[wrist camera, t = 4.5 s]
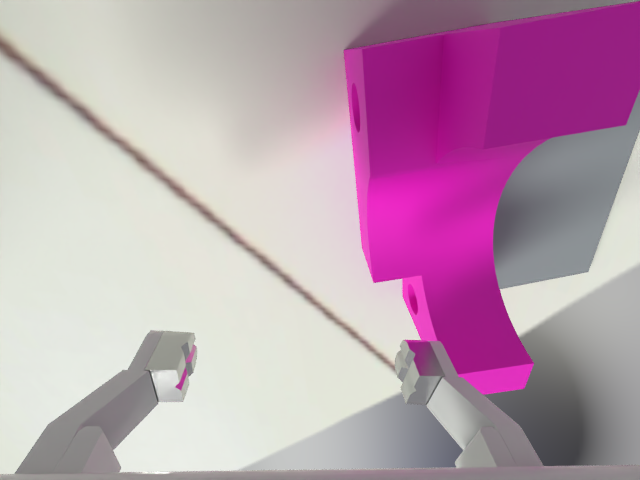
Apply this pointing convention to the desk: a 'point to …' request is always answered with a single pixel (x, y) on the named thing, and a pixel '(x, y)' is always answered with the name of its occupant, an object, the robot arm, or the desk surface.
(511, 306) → the desk surface
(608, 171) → the mat
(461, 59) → the magenta notched part
